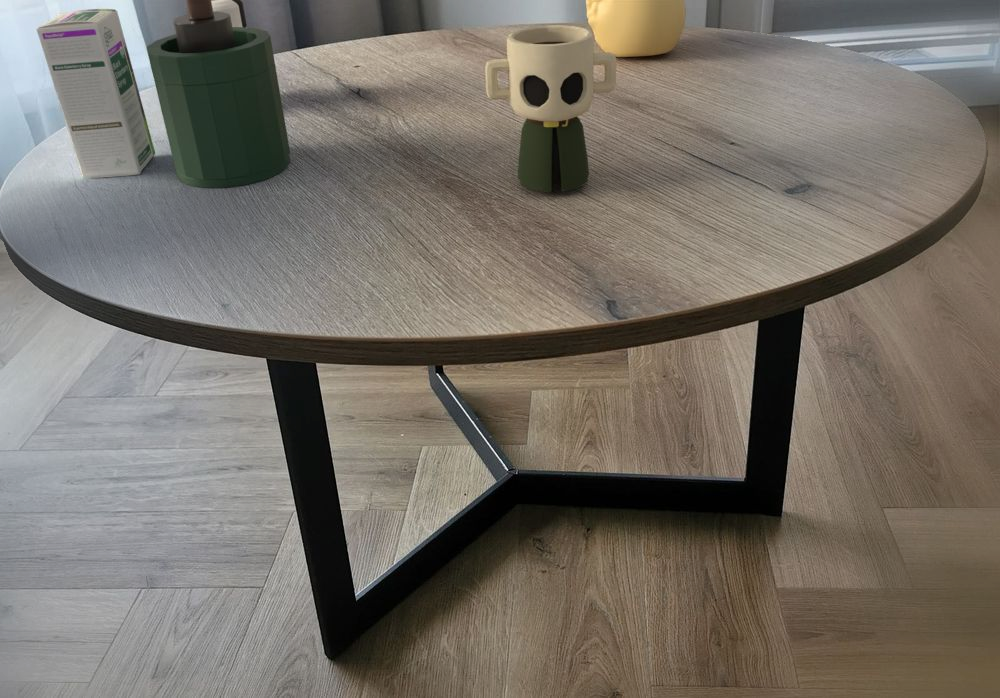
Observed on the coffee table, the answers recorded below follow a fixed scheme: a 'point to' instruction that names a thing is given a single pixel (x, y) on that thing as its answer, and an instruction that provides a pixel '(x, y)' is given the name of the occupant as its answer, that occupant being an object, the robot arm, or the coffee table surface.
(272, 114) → the jar
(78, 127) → the syrup box
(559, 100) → the character mug
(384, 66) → the coffee table surface
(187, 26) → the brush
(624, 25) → the sculpture
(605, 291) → the coffee table surface
